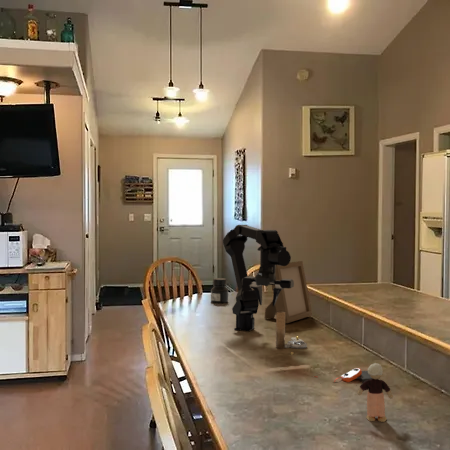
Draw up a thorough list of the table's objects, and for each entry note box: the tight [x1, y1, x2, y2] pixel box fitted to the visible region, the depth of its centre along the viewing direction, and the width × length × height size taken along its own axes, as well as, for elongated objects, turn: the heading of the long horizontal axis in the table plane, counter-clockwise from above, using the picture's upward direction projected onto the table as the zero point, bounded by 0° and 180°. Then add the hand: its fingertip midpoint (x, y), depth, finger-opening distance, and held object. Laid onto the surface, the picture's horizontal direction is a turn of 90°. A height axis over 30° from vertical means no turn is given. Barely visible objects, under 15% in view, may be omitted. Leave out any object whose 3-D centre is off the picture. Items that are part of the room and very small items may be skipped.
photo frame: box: [264, 260, 313, 324], centre depth 230 cm, size 15×22×25 cm
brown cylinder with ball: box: [275, 311, 308, 349], centre depth 179 cm, size 6×11×12 cm, turn 109°
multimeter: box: [311, 367, 372, 386], centre depth 146 cm, size 18×12×3 cm, turn 91°
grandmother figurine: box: [356, 362, 394, 423], centre depth 119 cm, size 8×4×13 cm, turn 92°
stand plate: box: [290, 335, 305, 355], centre depth 181 cm, size 20×15×2 cm
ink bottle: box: [210, 277, 229, 304], centre depth 272 cm, size 10×9×12 cm
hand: (267, 305), depth 195 cm, fingers open, 5 cm apart
